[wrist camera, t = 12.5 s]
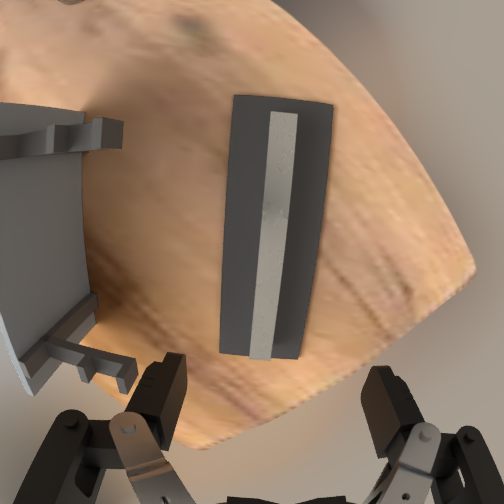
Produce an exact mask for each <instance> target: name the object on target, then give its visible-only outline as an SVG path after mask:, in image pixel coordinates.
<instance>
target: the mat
mask: <svg viewBox="0 0 504 504" xmlns="http://www.w3.org/2000/svg"><path fill="white" fill-rule="evenodd" d="M271 111H273V112H284V113H293V114H298V117H297V129H296V142H295V153H294V164H293V175H292V186H291V196H290V205H289V215H288V224H287V233H286V242H285V251H284V260H283V268H282V276H281V284H280V292H279V300H278V308H277V315H276V322H275V330H274V337H273V344H272V351H271V358H280V359H298V357H299V352H300V347H301V343H302V338H303V333H304V328H305V322H306V317H307V312H308V306H309V301H310V295H311V289H312V283H313V278H314V271H315V265H316V259H317V252H318V246H319V239H320V232H321V224H322V217H323V209H324V201H325V193H326V184H327V175H328V165H329V155H330V144H331V132H332V119H333V105H331V104H325V103H318V102H311V101H304V100H295V99H286V98H276V97H265V96H250V95H234V100H233V111H232V123H231V136H230V148H229V162H228V176H227V191H226V207H225V225H224V243H223V264H222V286H221V313H220V347H219V353H223V354H232V355H242V356H249V355H250V344H251V333H252V322H253V311H254V301H255V290H256V279H257V267H258V256H259V245H260V234H261V222H262V211H263V199H264V187H265V175H266V163H267V151H268V139H269V127H270V115H271Z"/></svg>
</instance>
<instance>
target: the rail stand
mask: <svg viewBox="0 0 504 504" xmlns="http://www.w3.org/2000/svg"><path fill="white" fill-rule="evenodd" d="M84 116H85V112H79V111H73V110H66V109H59V108H52V107H44V106H36V105H26V104H16V103H3V102H0V331H1V334H2V336H3V339H4V341H5V344H6V347H7V350H8V352H9V354H10V357H11V360H12V362H13V364H14V367H15V369H16V371H17V373H18V376H19V378H20V380H21V382H22V384H23V386H24V388H25V390H26V392H27V393H28V394H30V395H32V396H35V395H36V394H37V393H38V392H39V390H40V389H41V388H42V386H43V385H44V384H45V383H46V382H47V380H48V379H49V378H50V377H51V376H52V374H53V373H54V372H55V371H56V369H57V368H58V367H59V366H60V365H61V364H62V362H66V363H69V364H72V365H75V366H77V369H78V372H79V375H80V378H81V380H82V382H85V383H89V382H90V381H91V379H92V378H93V376H94V375H95V374H96V372H98V373H101V374H105V375H108V376H112V377H116V381H117V385H118V388H119V392H120V393H123V394H127V395H128V393H129V391H130V389H131V387H132V386H133V384H134V382H135V380H136V378H137V376H138V369H137V363H136V358H131V357H127V356H122V355H118V354H114V353H110V352H106V351H102V350H98V349H94V348H90V347H86V346H83V345H79V343H80V341H81V340H82V339H83V338H84V337H85V336H86V335H87V334H88V332H89V331H90V330H91V329H92V328H93V327H94V326H95V325H96V320H95V315H94V311H95V310H96V309H97V308H98V307H99V306H98V300H97V293H92V292H90V285H89V278H88V271H87V262H86V253H85V243H84V230H83V213H82V153H89V150H102V149H122V138H123V123H124V121H119V120H114V119H108V118H103V117H102V118H94V119H93V120H92V122H91V123H84Z"/></svg>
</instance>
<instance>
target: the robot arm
mask: <svg viewBox="0 0 504 504" xmlns="http://www.w3.org/2000/svg"><path fill="white" fill-rule="evenodd" d="M58 1H60V2H62V3H63V4H66V5H72V4H76V3H78V2H81V1H83V0H58ZM186 391H187V367H186V356H185V354H179V353H172V352H167V353H166V356H165V358H164V360H163V362H162V363H161V362H156V361H154V362H153V363H152V364H151V365H149V366H148V367H147V368H146V369H145V371H144V373H143V375H142V378H141V379H140V381H139V383H138V385H137V387H136V389H135V391H134V393H133V395H132V397H131V399H130V401H129V403H128V405H127V407H126V410H125V411H124V412H122V413H119V414H117V415H115V416H114V417H113V418H112V419H111V420H88V418H87V417H86V415H85V414H84V413H82V412H81V411H78V410H72V409H71V410H66V411H64V412H61V413H60V414H59V415H58V416H57V417H56V419H55V421H54V423H53V424H52V426H51V428H50V430H49V432H48V434H47V435H46V437H45V439H44V441H43V443H42V445H41V447H40V448H39V450H38V452H37V454H36V456H35V458H34V460H33V462H32V464H31V466H30V468H29V470H28V472H27V474H26V476H25V478H24V480H23V483H22V485H21V487H20V489H19V491H18V493H17V496H16V498H15V500H14V503H13V504H95V501H96V498H97V495H98V492H99V489H100V486H101V483H102V480H103V477H104V474H105V471H106V469H125V470H126V472H127V476H128V479H129V481H130V483H131V485H132V487H133V489H134V491H135V493H136V495H137V497H138V499H139V501H140V503H141V504H196V503H195V501H194V500H193V498H192V497H191V495H190V494H189V492H188V491H187V489H186V488H185V486H184V485H183V483H182V482H181V480H180V478H179V477H178V475H177V474H176V472H175V470H174V469H173V467H172V466H171V464H170V463H169V462H167V460H166V459H165V457H164V456H163V454H162V452H161V450H165V451H169V447H170V444H171V441H172V437H173V434H174V431H175V427H176V424H177V421H178V417H179V414H180V411H181V408H182V404H183V401H184V398H185V395H186ZM361 404H362V407H363V410H364V413H365V416H366V420H367V423H368V426H369V430H370V433H371V436H372V439H373V443H374V446H375V450H376V453H377V457H378V459H379V458H385V457H387V458H388V463H387V464H386V466H385V468H384V469H383V471H382V473H381V475H380V477H379V479H378V480H377V482H376V484H375V486H374V487H373V489H372V491H371V493H370V494H369V496H368V497H367V498H366V500H365V501H364V502H363V503H362V504H424V502H425V500H426V497H427V495H428V492H429V489H430V488H431V491H432V495H433V499H434V503H435V504H504V484H503V481H502V479H501V476H500V474H499V472H498V469H497V467H496V465H495V462H494V460H493V458H492V456H491V454H490V451H489V449H488V447H487V445H486V443H485V441H484V439H483V437H482V435H481V433H480V431H479V430H478V429H476V428H475V427H472V426H464V427H461V428H460V429H459V431H458V432H457V433H456V434H448V433H440V431H439V429H438V428H437V427H436V426H434V425H433V424H430V423H427V422H425V421H424V418H423V416H422V414H421V412H420V410H419V408H418V406H417V404H416V402H415V400H414V399H413V396H412V394H411V393H410V390H409V388H408V386H407V384H406V383H405V382H404V381H403V380H402V379H401V378H400V377H399V376H395V375H394V374H393V371H392V369H391V368H390V366H373V367H372V368H371V369H370V372H369V374H368V377H367V379H366V382H365V384H364V386H363V389H362V392H361ZM459 469H460V470H461V473H462V476H463V478H464V481H465V487H463V484H462V481H461V478H460V475H459V472H458V470H459ZM218 504H278V503H274V502H269V501H265V500H261V499H254V498H239V497H227V502H226V503H218ZM297 504H355V503H350V502H346V497H345V496H336V497H327V498H316V499H313V500H309V501H306V502H301V503H297Z"/></svg>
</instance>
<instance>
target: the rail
mask: <svg viewBox="0 0 504 504" xmlns="http://www.w3.org/2000/svg"><path fill="white" fill-rule="evenodd" d="M297 117H298V114H293V113H284V112H273V111H271V115H270V127H269V139H268V151H267V163H266V175H265V187H264V199H263V211H262V222H261V234H260V245H259V256H258V267H257V279H256V290H255V301H254V311H253V322H252V333H251V344H250V355H249V359H256V360H269V361H270V358H271V351H272V344H273V337H274V330H275V322H276V315H277V308H278V300H279V292H280V284H281V276H282V268H283V260H284V251H285V242H286V233H287V224H288V215H289V205H290V196H291V186H292V175H293V164H294V153H295V142H296V129H297Z"/></svg>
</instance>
